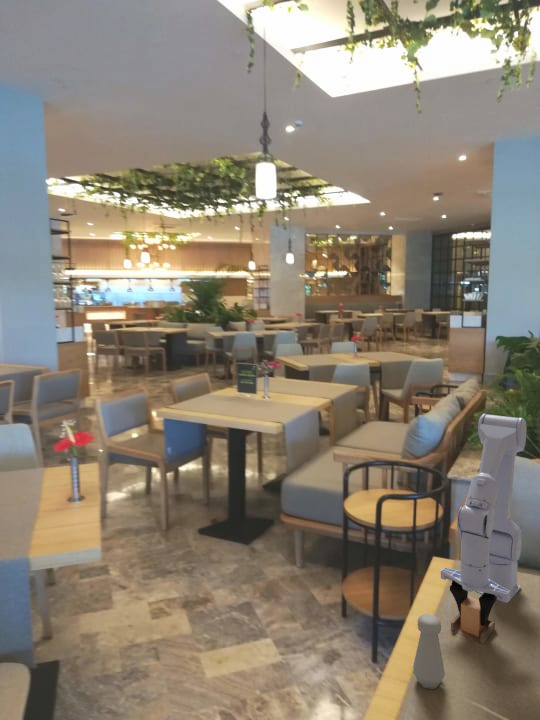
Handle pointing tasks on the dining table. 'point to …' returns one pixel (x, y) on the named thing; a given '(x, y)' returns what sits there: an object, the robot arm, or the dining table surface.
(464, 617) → the block
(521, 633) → the dining table surface
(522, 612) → the dining table surface
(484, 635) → the box
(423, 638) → the salt shaker
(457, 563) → the dining table surface
